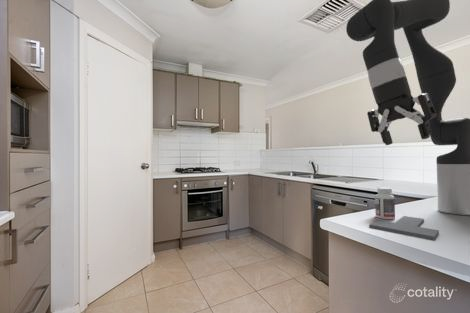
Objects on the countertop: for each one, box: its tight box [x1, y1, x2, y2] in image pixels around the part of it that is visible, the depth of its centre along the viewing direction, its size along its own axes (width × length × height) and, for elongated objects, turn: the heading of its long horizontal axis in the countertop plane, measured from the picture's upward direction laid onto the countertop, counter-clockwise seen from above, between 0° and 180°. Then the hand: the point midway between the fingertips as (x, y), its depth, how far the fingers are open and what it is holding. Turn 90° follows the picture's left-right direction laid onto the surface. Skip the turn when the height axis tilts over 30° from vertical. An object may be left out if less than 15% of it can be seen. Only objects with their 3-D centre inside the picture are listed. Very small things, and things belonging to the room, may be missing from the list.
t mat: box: [368, 215, 440, 241], centre depth 64 cm, size 18×14×1 cm
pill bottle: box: [374, 187, 396, 220], centre depth 73 cm, size 5×5×10 cm
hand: (406, 141), depth 57 cm, fingers open, 8 cm apart
